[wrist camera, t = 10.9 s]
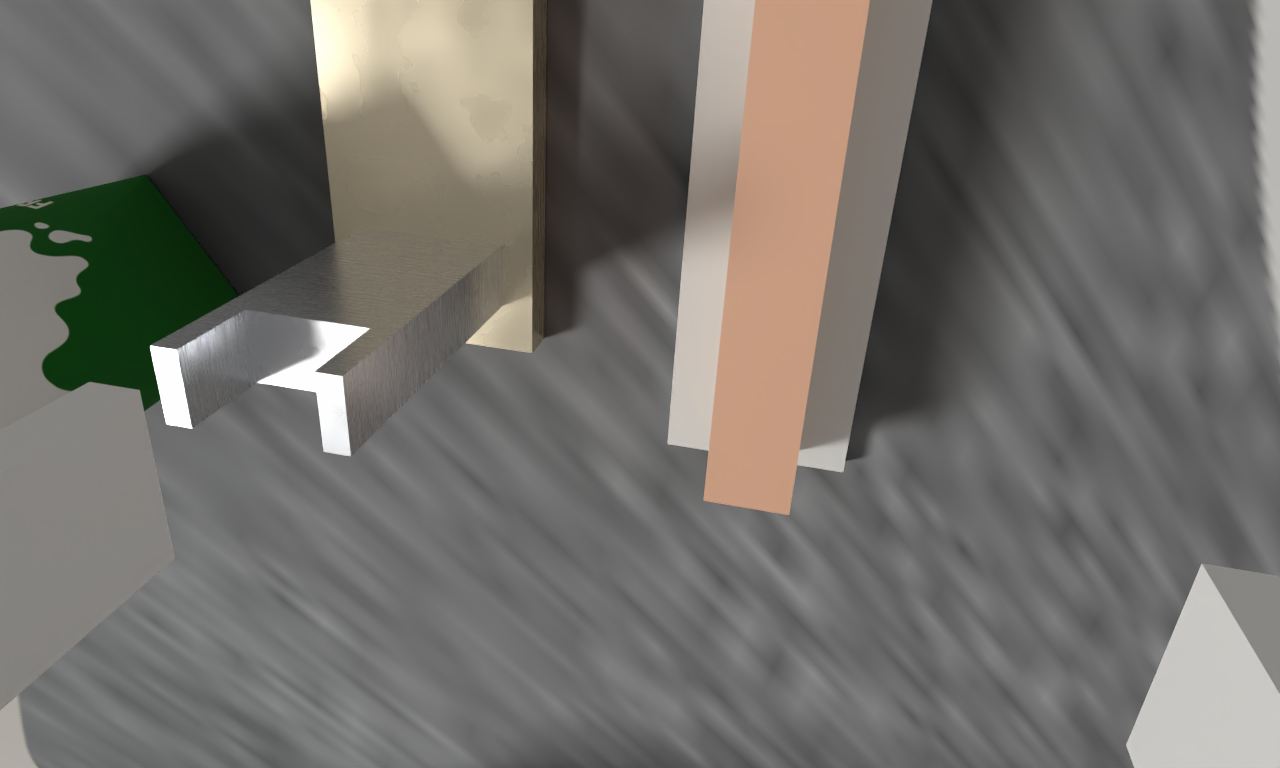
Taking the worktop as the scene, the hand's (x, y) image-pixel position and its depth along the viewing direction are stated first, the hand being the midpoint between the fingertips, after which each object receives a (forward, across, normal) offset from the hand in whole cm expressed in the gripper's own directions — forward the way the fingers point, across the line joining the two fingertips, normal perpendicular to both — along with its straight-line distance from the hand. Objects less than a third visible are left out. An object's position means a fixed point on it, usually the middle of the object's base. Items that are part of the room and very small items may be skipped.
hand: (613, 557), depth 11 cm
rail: (+22, -1, -3) cm, 22 cm away
